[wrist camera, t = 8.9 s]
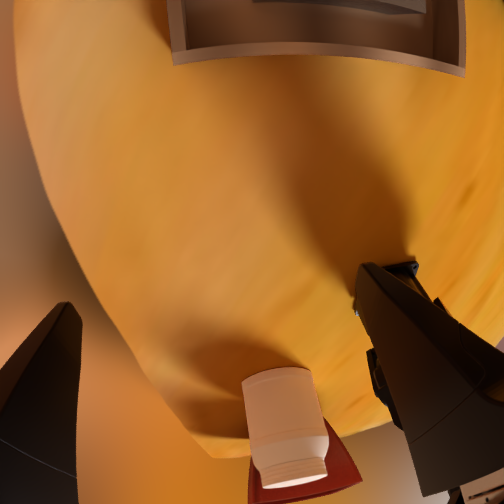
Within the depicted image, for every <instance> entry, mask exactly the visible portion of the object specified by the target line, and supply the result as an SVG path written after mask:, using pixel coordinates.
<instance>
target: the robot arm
mask: <svg viewBox="0 0 504 504" xmlns="http://www.w3.org/2000/svg"><path fill="white" fill-rule="evenodd" d="M418 267H419V264H418V263H417V261H412V262H407V263H401V264H396V265H390V266H385V267H380V266H378V265H377V264H375V263H373V262H367V263H362V264H360V265H359V268H358V272H357V277H356V282H355V290H356V293H357V300H356V304H355V311H354V312H355V314H356V316H359V317H360V319H361V321H362V323H363V325H364V327H365V330H366V332H367V334H368V335H369V336H370V339H371V342H372V344H373V347H374V348H372V349H369V350H368V351H366V354H367V361H368V366H369V371H370V376H371V381H372V386H373V390H374V393H375V395H376V397H378V398H379V399H380V400H381V401H382V403H383V404H384V405H386V406H387V407H388V409H389V411H390V414H391V417H392V419H393V422H394V424H395V425H396V426H397V427H398V428H400V429H401V430H403V431H404V433H405V436H406V440H407V442H408V444H409V445H408V446H409V450H410V453H411V456H412V460H413V463H414V467H415V470H416V474H417V477H418V481H419V485H420V489H421V493H422V496H423V497H426V496H429V495H433V494H437V493H440V492H443V491H446V490H448V494H449V496H450V499H449V501H448V503H447V504H504V353H503V352H501V351H500V350H498V349H497V348H495V347H494V346H492V345H491V344H489V343H488V342H486V341H485V340H483V339H482V338H480V337H479V336H477V335H476V334H475V333H473V332H472V331H470V330H469V329H468V328H466V327H465V326H464V325H462V324H461V323H459V322H458V321H457V320H456V319H454V318H453V317H452V315H451V314H450V312H449V311H448V310H447V308H446V307H445V306H444V304H443V303H442V302H441V300H440V299H439V298H438V297H437V298H436V299H435V300H433V301H434V302H432V301H431V299H430V298H429V296H428V295H427V293H426V292H425V290H424V288H423V287H422V286H421V284H420V283H419V281H418V280H417V278H416V277H415V275H416V273H417V270H418ZM82 326H83V324H82V319H81V317H80V315H79V314H78V312H77V311H76V309H75V308H74V306H73V304H72V303H71V302H69V301H67V302H60V303H58V304H57V305H56V306H55V307H54V308H53V309H52V310H51V311H50V312H49V313H48V314H47V316H46V317H45V318H44V319H43V320H42V321H41V322H40V323H39V324H38V325H37V327H36V328H35V329H34V330H33V331H32V332H31V333H30V335H29V336H28V337H27V338H26V339H25V340H24V341H23V343H22V344H21V345H20V346H19V347H18V349H17V350H16V351H15V352H14V353H13V355H12V356H11V357H10V358H9V359H8V361H7V362H6V363H5V365H4V366H3V367H2V368H1V369H0V504H79V503H78V489H77V478H76V477H77V473H76V422H77V404H78V403H77V402H78V391H79V380H80V370H81V347H82V346H81V345H82Z"/></svg>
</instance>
